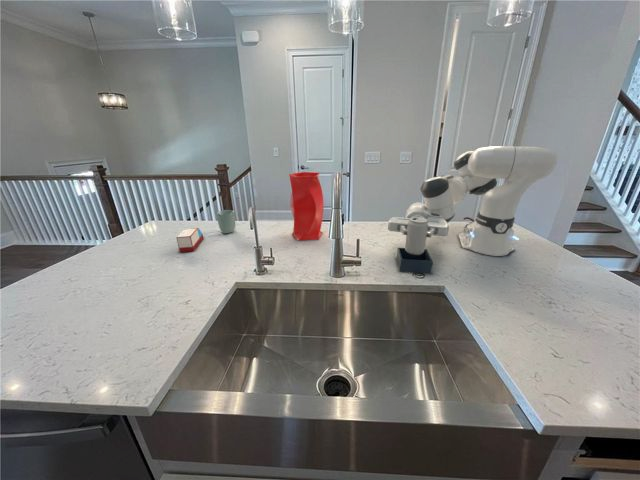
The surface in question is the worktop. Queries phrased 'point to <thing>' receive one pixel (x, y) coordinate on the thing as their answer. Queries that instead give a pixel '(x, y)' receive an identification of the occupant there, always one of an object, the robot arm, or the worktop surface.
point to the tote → (414, 262)
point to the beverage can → (416, 235)
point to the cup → (226, 221)
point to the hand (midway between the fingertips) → (416, 234)
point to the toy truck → (189, 239)
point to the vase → (306, 205)
